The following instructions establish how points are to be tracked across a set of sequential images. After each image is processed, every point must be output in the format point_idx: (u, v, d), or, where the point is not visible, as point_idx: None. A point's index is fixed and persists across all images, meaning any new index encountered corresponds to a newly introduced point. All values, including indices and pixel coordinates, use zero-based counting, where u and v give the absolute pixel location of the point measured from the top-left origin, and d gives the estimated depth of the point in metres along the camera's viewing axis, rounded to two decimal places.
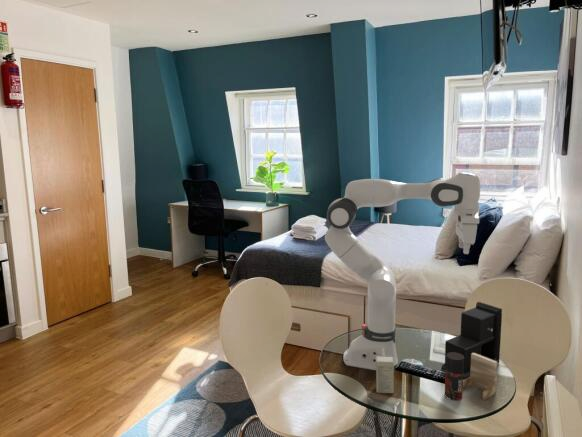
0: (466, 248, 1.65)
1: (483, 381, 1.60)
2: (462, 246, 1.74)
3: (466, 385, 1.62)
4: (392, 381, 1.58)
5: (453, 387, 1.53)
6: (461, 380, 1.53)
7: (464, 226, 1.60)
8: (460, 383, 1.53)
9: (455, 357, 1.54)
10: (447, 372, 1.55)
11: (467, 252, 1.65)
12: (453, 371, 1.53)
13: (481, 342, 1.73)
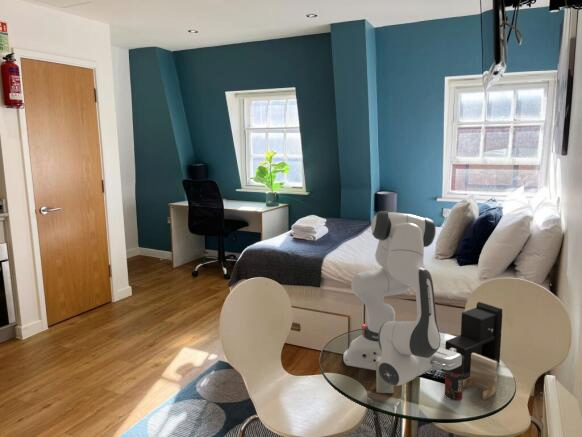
0: None
1: (483, 381, 1.60)
2: None
3: (466, 385, 1.62)
4: None
5: (453, 387, 1.53)
6: (461, 380, 1.53)
7: None
8: (460, 383, 1.53)
9: None
10: (447, 372, 1.55)
11: None
12: (453, 371, 1.53)
13: (481, 342, 1.73)
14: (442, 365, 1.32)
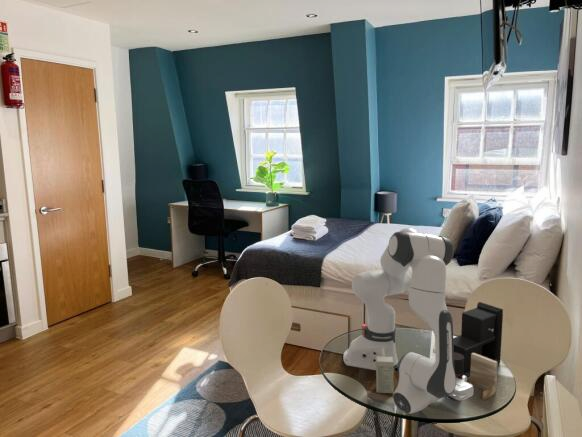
0: None
1: (483, 381, 1.60)
2: None
3: None
4: (392, 381, 1.58)
5: None
6: None
7: None
8: None
9: (455, 357, 1.54)
10: None
11: None
12: None
13: (482, 342, 1.73)
14: (453, 396, 1.42)
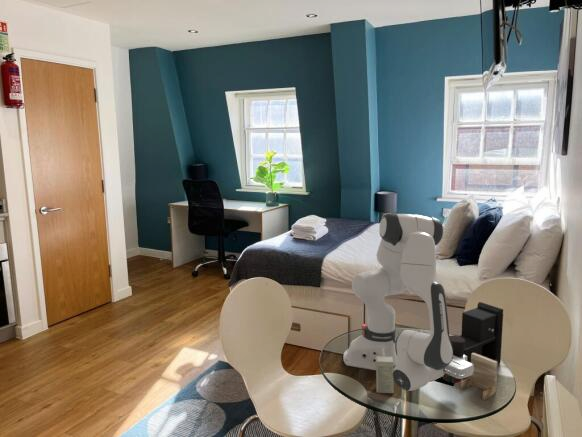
0: None
1: (483, 381, 1.60)
2: None
3: (466, 385, 1.62)
4: (392, 381, 1.58)
5: None
6: None
7: None
8: None
9: (456, 339, 1.53)
10: None
11: None
12: (453, 353, 1.52)
13: (482, 342, 1.73)
14: (453, 374, 1.41)
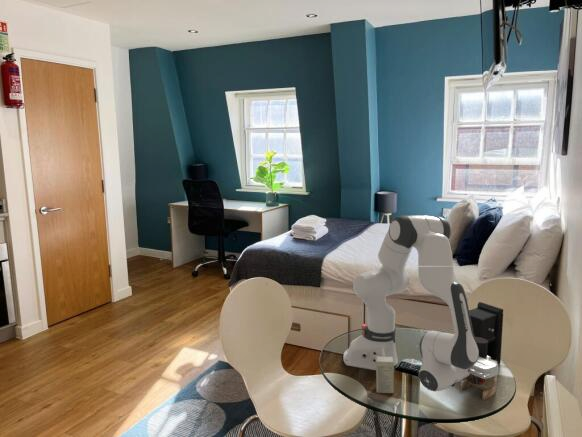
0: None
1: None
2: None
3: (466, 385, 1.62)
4: (392, 381, 1.58)
5: None
6: None
7: None
8: None
9: (479, 341, 1.54)
10: None
11: None
12: None
13: None
14: (479, 374, 1.42)
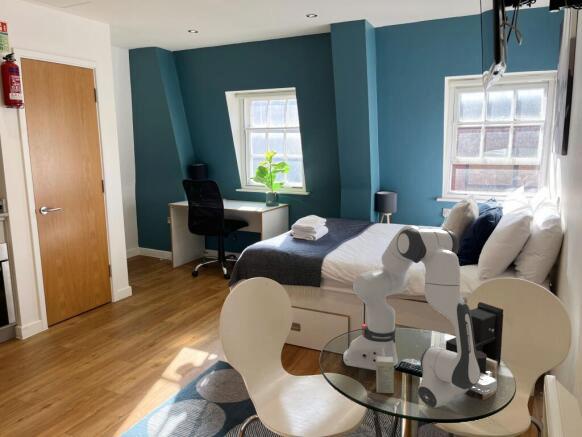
0: None
1: None
2: None
3: None
4: (392, 381, 1.58)
5: None
6: None
7: None
8: None
9: (478, 355, 1.55)
10: None
11: None
12: None
13: (482, 342, 1.73)
14: (478, 390, 1.43)
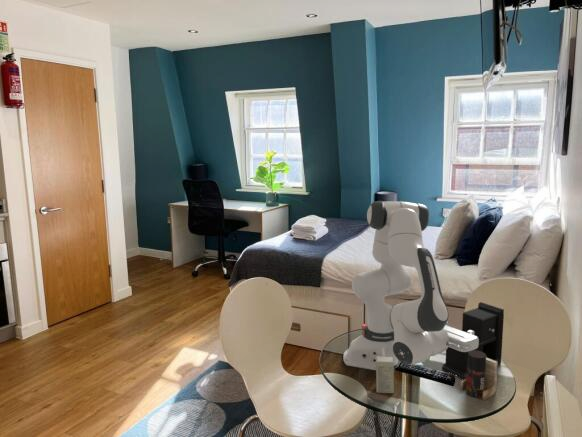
0: None
1: None
2: None
3: None
4: (392, 381, 1.58)
5: (476, 385, 1.55)
6: (483, 378, 1.55)
7: None
8: (482, 381, 1.54)
9: (478, 355, 1.55)
10: (469, 370, 1.56)
11: None
12: (475, 369, 1.54)
13: (482, 342, 1.73)
14: (458, 347, 1.32)
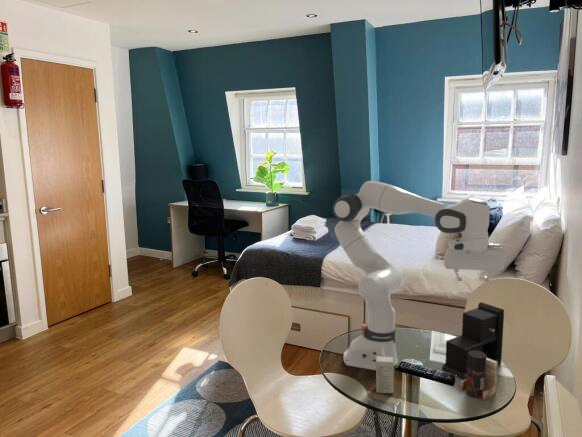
0: (456, 274, 1.61)
1: None
2: (484, 280, 1.59)
3: None
4: (392, 381, 1.58)
5: (476, 385, 1.55)
6: (483, 378, 1.55)
7: None
8: (482, 381, 1.54)
9: (478, 355, 1.55)
10: (469, 370, 1.56)
11: (457, 279, 1.61)
12: (475, 369, 1.54)
13: (482, 342, 1.73)
14: None
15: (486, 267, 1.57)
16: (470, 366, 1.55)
